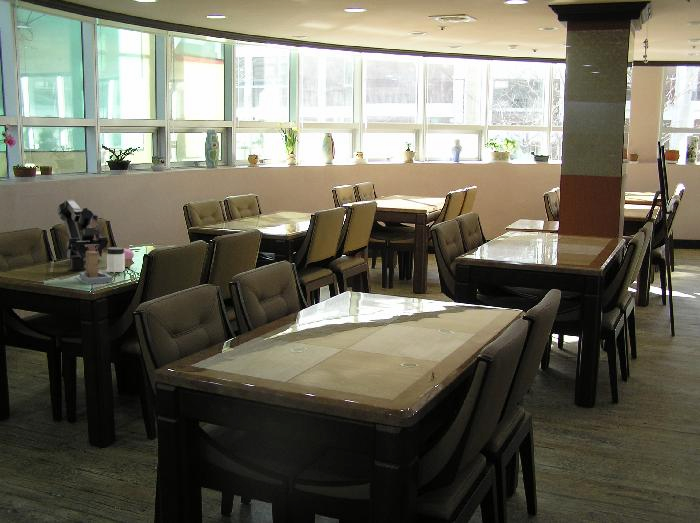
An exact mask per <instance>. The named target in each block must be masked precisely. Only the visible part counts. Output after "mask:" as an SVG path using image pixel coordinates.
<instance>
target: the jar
mask: <svg viewBox="0 0 700 523" xmlns="http://www.w3.org/2000/svg"><path fill="white" fill-rule="evenodd" d="M106 248H107V252H106V270H107V272H106V273H110V272H114V273H113V274H116V273H115V272H122V273H124V272H125V271H126V268H125V253H124V249H125V248H124V247H121V246H110V247H106ZM124 270H125V271H124ZM123 271H124V272H123Z"/></svg>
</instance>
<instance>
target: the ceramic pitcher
mask: <svg viewBox="0 0 700 523" xmlns="http://www.w3.org/2000/svg"><path fill="white" fill-rule="evenodd" d="M98 218H99V215H97V214H95V213H93V217H92V220H91V224H89V227H90V228H94V227H98V231H99V232H98V234H95V235H94V239H93V240H98V239H99V237H103V236H102V233H101V229H100V227H99V223H98ZM77 223H78V222H75V225H76V224H77ZM64 226H65V229H66V232H67V233H68V231H67V228H66V224H65V223H64ZM76 228H77V225H76ZM77 231H78V230H77ZM78 235H79V233H78ZM85 246H86V247H87V249H88V251H96V252H98V246H97V245H85ZM104 249H105V248H104ZM104 249H102V254H103V252H104ZM100 258H101V257H100V255H99V252H98V259H100ZM84 262H86V258H84Z"/></svg>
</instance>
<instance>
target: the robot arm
mask: <svg viewBox="0 0 700 523" xmlns="http://www.w3.org/2000/svg"><path fill="white" fill-rule="evenodd" d="M76 201H77V200H75V199H66V200H64V202H62V203H60V204H59V205H58V208H57V214H58V216H59V218H60V220H62V221H63V222H64V225H65V224H66V227H65V229H66V228H67V229H66V232H67V231H68V232H67V234H68V240H67V242H66V249H67V252H66V257H67V259H69V260H70V265H69V266H70V268H68V269H67V270H69V271H72V272H78V271H79V272H80V271H86V267H85V261H84V258H86V251H88V249H87V247H86V246H85V245H97V246H98V252H99V255H100V257H99V258H102V256H103V253H102V249H105V248H107V246H108V243H109V238H108V236H102V237H99V239H98V240H93V239H94V235H95V234H98V232H99V231H98V227H94V228H90V227H89V224H91V220H92V217H93V214H94V213H93V212H92V210H90V209H88V207H83V208H81V207H80V206H79V204H78V203H77V202H76ZM76 222H78V223H77V224H76V225H77V228H76V225H75V223H76ZM77 230H78V231H77ZM78 233H79V235H78Z"/></svg>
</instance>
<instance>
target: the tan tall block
mask: <svg viewBox="0 0 700 523" xmlns="http://www.w3.org/2000/svg"><path fill="white" fill-rule="evenodd" d="M85 268H86V270H85V272H86V275H87V277H88V278H97V277H98V271H99V258H98V252H96V251H86V261H85Z"/></svg>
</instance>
